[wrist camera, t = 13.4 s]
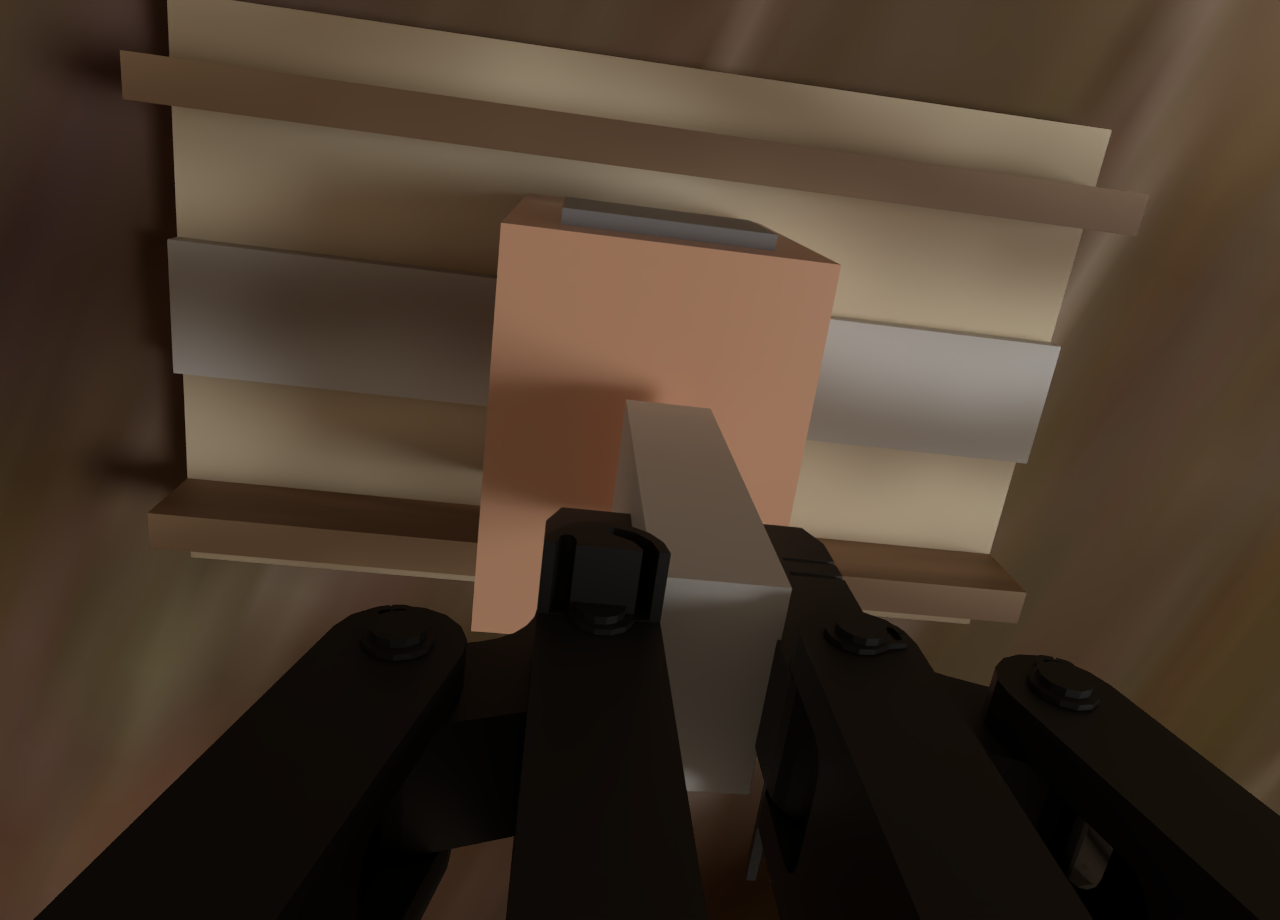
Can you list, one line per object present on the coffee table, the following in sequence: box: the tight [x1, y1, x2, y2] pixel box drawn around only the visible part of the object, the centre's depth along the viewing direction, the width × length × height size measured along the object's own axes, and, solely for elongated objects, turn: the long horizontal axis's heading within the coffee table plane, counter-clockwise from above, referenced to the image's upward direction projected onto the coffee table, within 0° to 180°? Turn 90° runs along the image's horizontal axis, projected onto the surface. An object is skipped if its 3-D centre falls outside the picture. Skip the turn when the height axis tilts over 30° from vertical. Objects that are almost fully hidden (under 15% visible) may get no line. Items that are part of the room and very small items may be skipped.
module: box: [471, 193, 841, 634], centre depth 21 cm, size 8×6×8 cm
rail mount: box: [120, 0, 1150, 624], centre depth 24 cm, size 15×24×4 cm, turn 83°
